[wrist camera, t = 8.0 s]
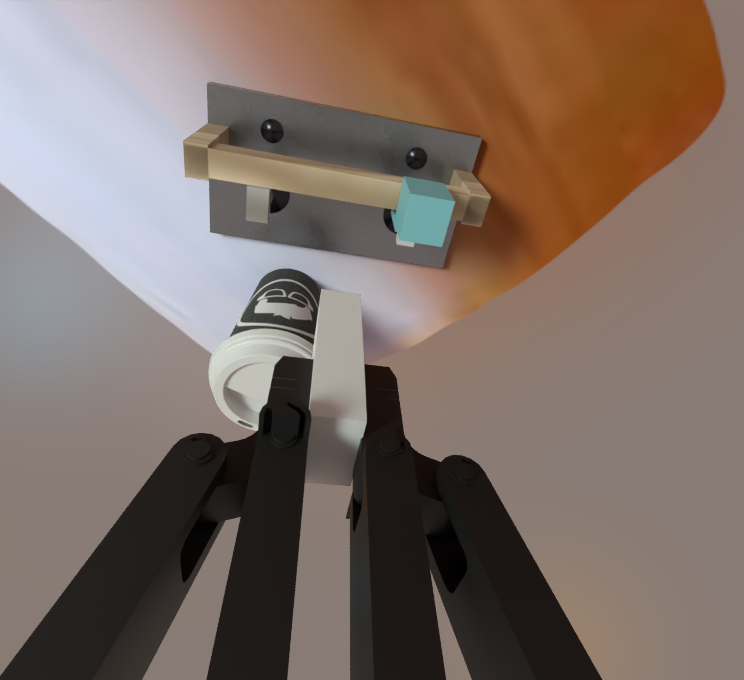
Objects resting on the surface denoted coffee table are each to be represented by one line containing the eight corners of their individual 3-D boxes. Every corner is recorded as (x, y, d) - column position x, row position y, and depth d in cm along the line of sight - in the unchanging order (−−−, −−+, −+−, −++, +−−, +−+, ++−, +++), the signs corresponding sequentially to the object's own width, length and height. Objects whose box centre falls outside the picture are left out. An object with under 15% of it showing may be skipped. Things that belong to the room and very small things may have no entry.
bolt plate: (210, 81, 35) (206, 83, 34) (479, 135, 38) (482, 138, 37) (213, 228, 41) (210, 232, 40) (440, 263, 44) (442, 268, 44)
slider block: (396, 154, 37) (410, 193, 28) (430, 160, 37) (455, 201, 29) (382, 218, 40) (392, 271, 32) (414, 224, 41) (432, 277, 32)
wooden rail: (207, 123, 35) (183, 140, 30) (471, 172, 38) (491, 196, 33) (209, 188, 38) (187, 215, 33) (454, 229, 41) (469, 259, 36)
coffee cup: (221, 285, 45) (173, 383, 33) (297, 236, 42) (276, 323, 30) (281, 348, 50) (259, 455, 37) (352, 308, 47) (354, 408, 35)
